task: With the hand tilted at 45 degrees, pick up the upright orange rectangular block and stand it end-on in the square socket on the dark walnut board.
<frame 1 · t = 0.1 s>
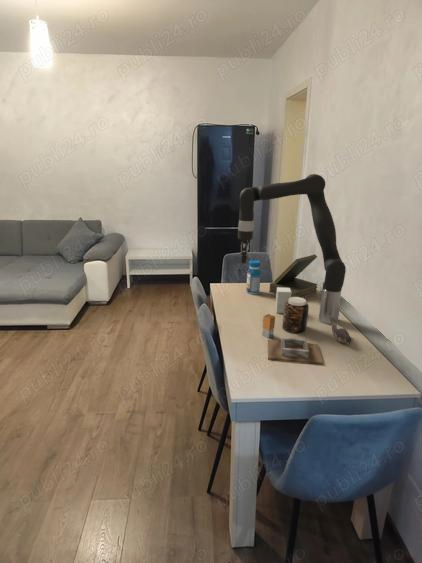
hand: (244, 261, 187), 29 cm above the table, tool pointing down, fingers open, 8 cm apart
jar: (294, 328, 181), on the table
orange rectangular block: (267, 335, 172), on the table
decorative bird: (337, 336, 174), on the table
beverage bottle: (252, 292, 229), on the table
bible: (292, 293, 231), on the table
supplement box: (282, 311, 201), on the table
socket board: (293, 352, 158), on the table
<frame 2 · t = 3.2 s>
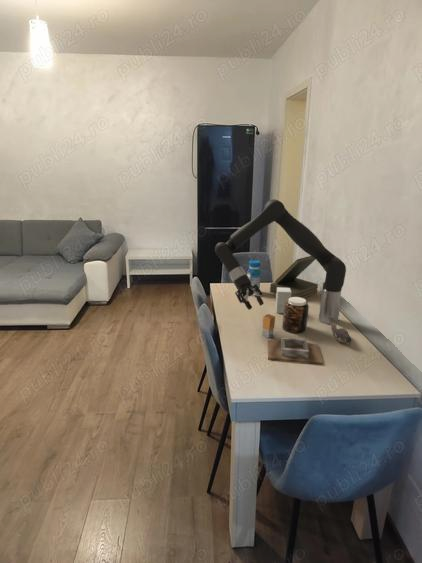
hand: (256, 306, 174), 12 cm above the table, tool tilted 45°, fingers open, 8 cm apart
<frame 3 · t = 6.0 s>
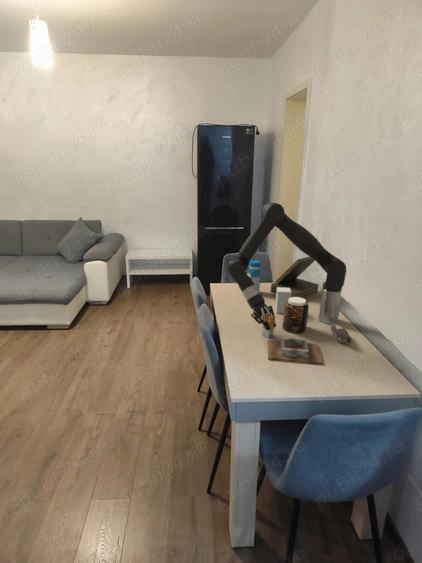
hand: (271, 328, 169), 5 cm above the table, tool tilted 45°, fingers closed on orange rectangular block, 3 cm apart
orange rectangular block: (267, 335, 172), on the table, touching gripper
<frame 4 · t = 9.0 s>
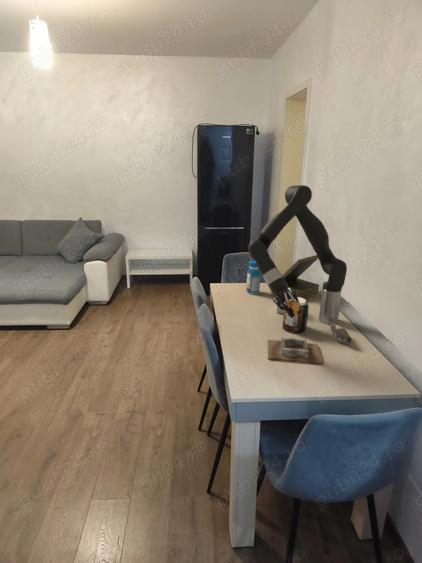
hand: (296, 315, 154), 17 cm above the table, tool tilted 45°, fingers closed on orange rectangular block, 3 cm apart
orange rectangular block: (291, 323, 156), point 12 cm above the table, touching gripper
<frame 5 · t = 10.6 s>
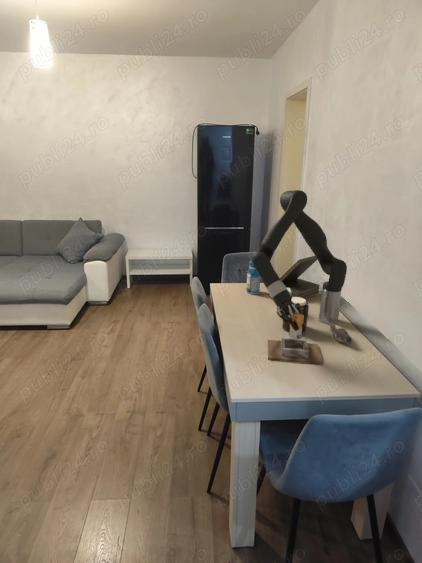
hand: (300, 328, 153), 12 cm above the table, tool tilted 45°, fingers closed on orange rectangular block, 3 cm apart
orange rectangular block: (295, 336, 155), point 8 cm above the table, touching gripper
when the fingers open (7 cm above the table, at t = 12.1 s): orange rectangular block drops 1 cm, resting on socket board.
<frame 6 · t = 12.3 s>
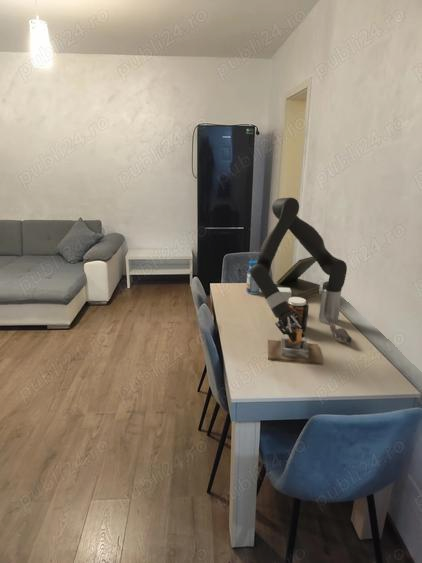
hand: (299, 339, 154), 7 cm above the table, tool tilted 45°, fingers open, 5 cm apart
orange rectangular block: (293, 350, 157), point 1 cm above the table, touching socket board
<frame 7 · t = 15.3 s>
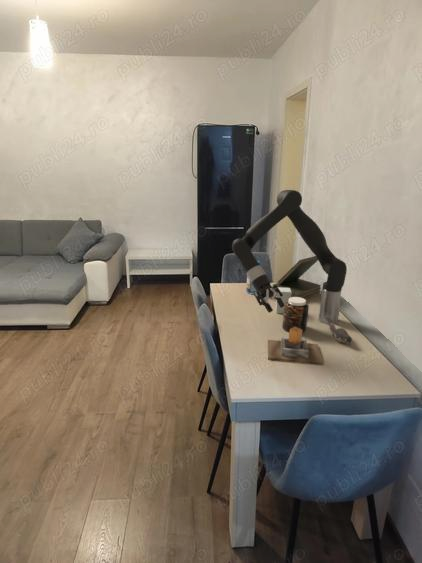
hand: (277, 309, 159), 17 cm above the table, tool tilted 45°, fingers open, 8 cm apart
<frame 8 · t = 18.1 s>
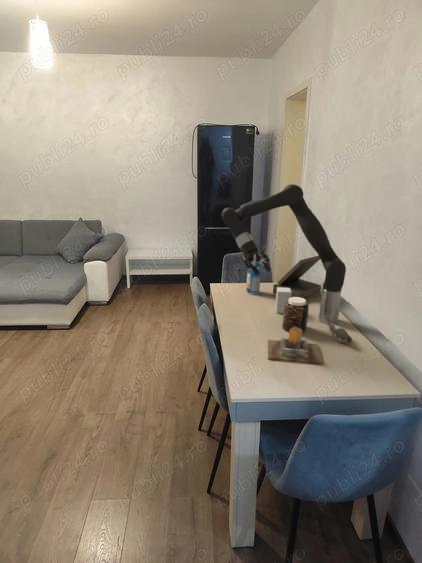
hand: (263, 272, 170), 29 cm above the table, tool tilted 45°, fingers open, 8 cm apart
at the end: orange rectangular block 0.1 cm off-centre on the socket board, point 1.0 cm above the socket board's base; orange rectangular block tilted 0°; the gripper is holding nothing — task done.
